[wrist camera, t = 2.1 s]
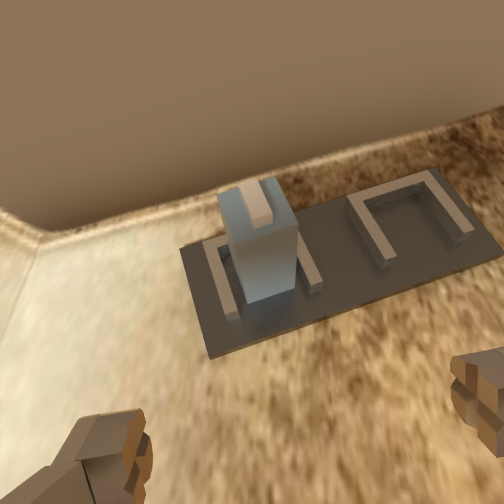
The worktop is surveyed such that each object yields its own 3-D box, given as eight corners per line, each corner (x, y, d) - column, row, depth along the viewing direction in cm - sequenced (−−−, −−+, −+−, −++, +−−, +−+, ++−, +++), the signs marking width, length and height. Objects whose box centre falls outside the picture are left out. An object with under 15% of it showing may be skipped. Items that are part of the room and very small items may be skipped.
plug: (277, 248, 32) (274, 165, 23) (294, 287, 30) (299, 213, 21) (232, 262, 31) (213, 183, 23) (247, 304, 29) (232, 234, 21)
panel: (432, 172, 36) (441, 154, 34) (500, 257, 31) (516, 242, 29) (181, 253, 33) (174, 238, 31) (210, 359, 28) (204, 351, 26)
